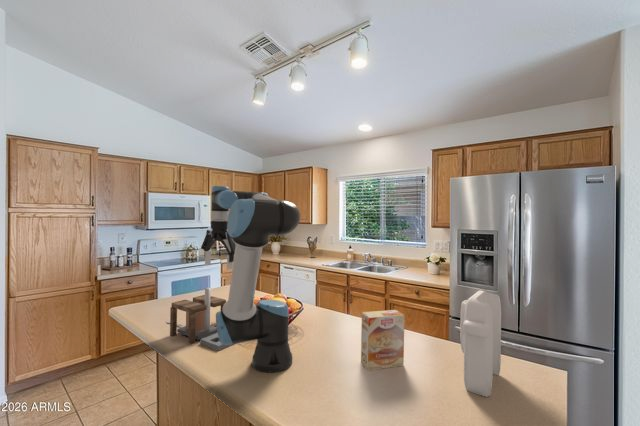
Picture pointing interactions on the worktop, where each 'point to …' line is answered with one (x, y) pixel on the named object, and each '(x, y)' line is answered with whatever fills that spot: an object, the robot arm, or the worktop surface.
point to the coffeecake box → (382, 339)
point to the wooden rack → (191, 313)
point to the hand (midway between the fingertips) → (218, 267)
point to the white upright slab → (481, 341)
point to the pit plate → (213, 342)
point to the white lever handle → (201, 321)
